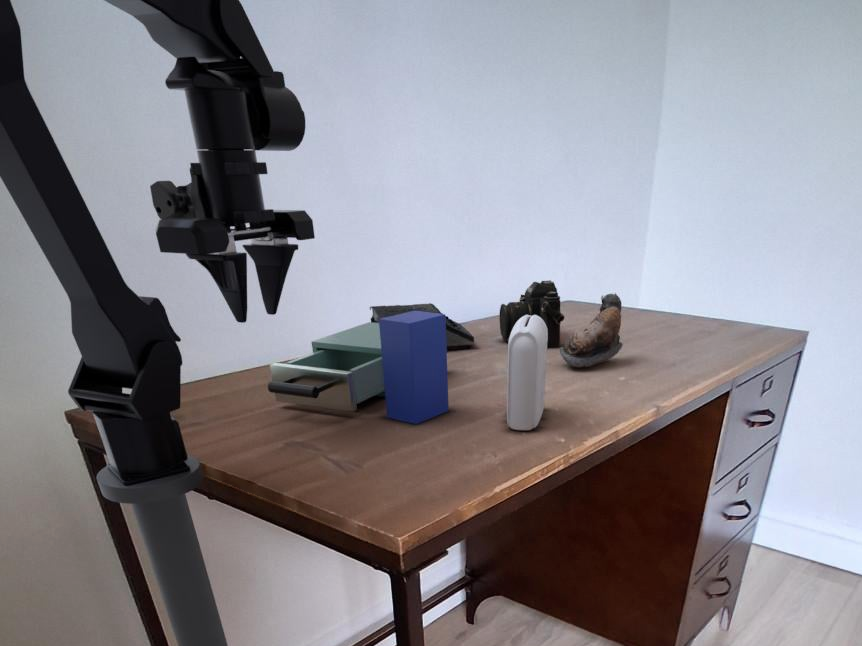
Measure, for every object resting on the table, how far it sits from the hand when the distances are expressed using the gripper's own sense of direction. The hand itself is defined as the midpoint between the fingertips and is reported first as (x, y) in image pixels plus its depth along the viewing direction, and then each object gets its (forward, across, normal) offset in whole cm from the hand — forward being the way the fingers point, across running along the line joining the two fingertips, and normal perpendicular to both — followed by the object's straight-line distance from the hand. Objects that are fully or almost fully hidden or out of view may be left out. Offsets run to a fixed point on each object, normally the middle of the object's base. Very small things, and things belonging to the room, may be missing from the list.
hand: (257, 318), depth 77 cm
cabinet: (+13, -26, 0) cm, 29 cm away
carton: (+13, -13, +13) cm, 23 cm away
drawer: (+12, -13, 0) cm, 18 cm away
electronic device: (+13, -50, -6) cm, 52 cm away
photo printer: (+13, -16, +27) cm, 35 cm away
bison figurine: (+13, -48, +26) cm, 57 cm away
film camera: (+13, -62, +11) cm, 64 cm away
